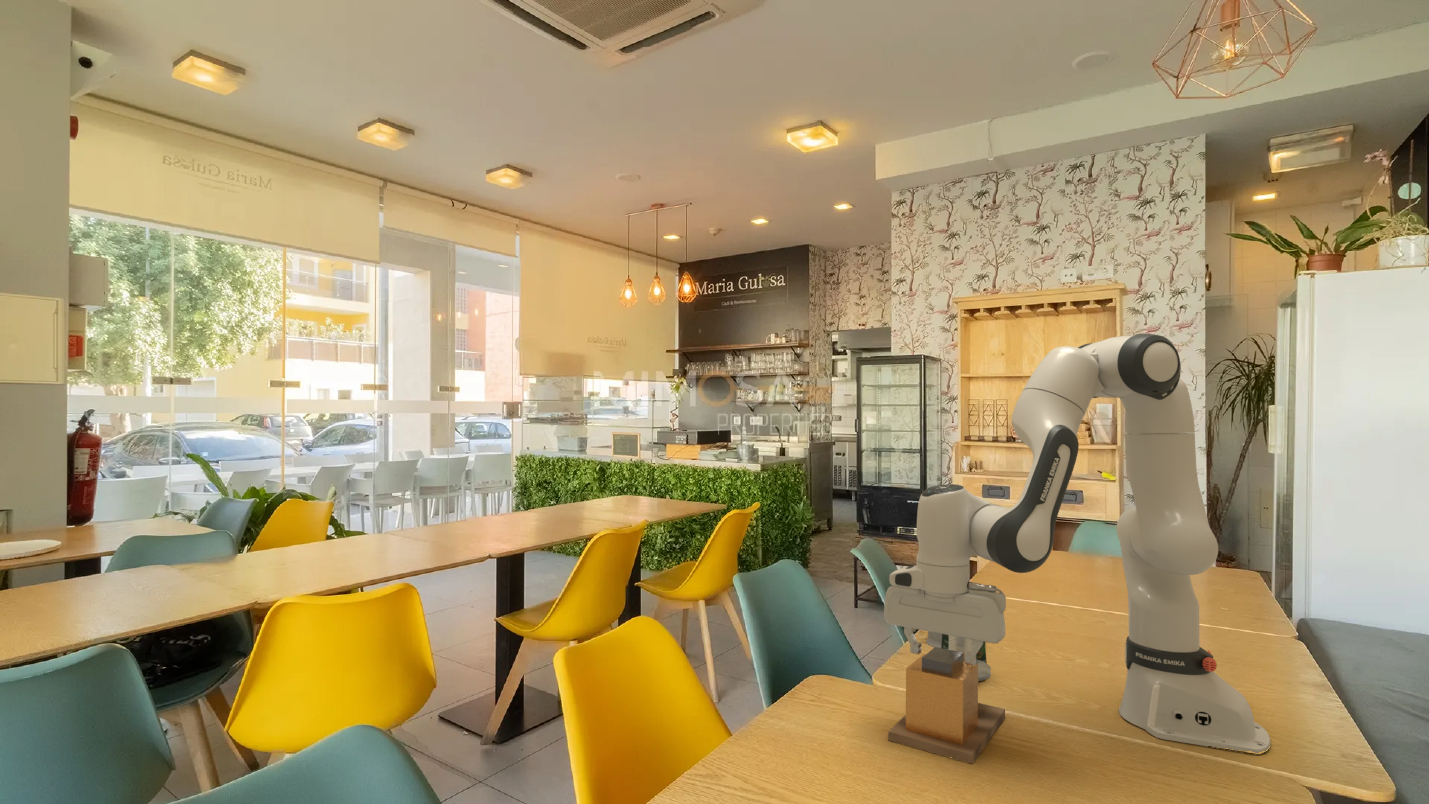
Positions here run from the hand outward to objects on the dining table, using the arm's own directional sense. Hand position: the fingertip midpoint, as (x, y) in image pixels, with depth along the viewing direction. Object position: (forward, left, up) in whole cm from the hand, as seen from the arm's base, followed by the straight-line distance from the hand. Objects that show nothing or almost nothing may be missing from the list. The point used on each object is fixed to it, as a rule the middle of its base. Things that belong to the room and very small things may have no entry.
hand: (942, 658), depth 122 cm
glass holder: (+13, -53, -14) cm, 56 cm away
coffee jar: (+5, -31, -14) cm, 34 cm away
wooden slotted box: (0, -6, -12) cm, 13 cm away
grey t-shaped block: (0, 0, -11) cm, 11 cm away
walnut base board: (0, -3, -13) cm, 14 cm away
